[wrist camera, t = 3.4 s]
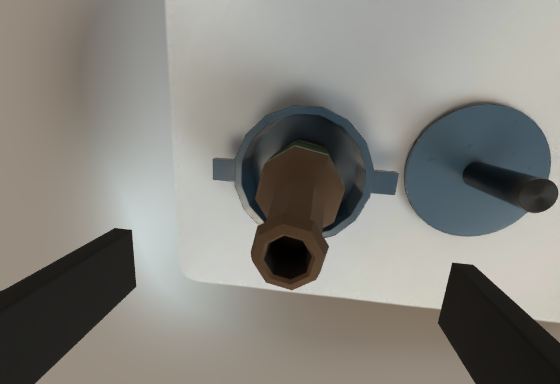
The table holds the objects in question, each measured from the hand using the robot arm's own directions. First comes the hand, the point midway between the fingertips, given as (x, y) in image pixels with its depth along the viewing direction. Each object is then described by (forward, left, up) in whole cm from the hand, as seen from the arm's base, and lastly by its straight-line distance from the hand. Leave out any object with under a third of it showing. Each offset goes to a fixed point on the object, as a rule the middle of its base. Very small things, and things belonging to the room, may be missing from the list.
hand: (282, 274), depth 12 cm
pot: (0, 0, -25) cm, 25 cm away
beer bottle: (0, 0, -25) cm, 25 cm away
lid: (-1, +20, -25) cm, 32 cm away
